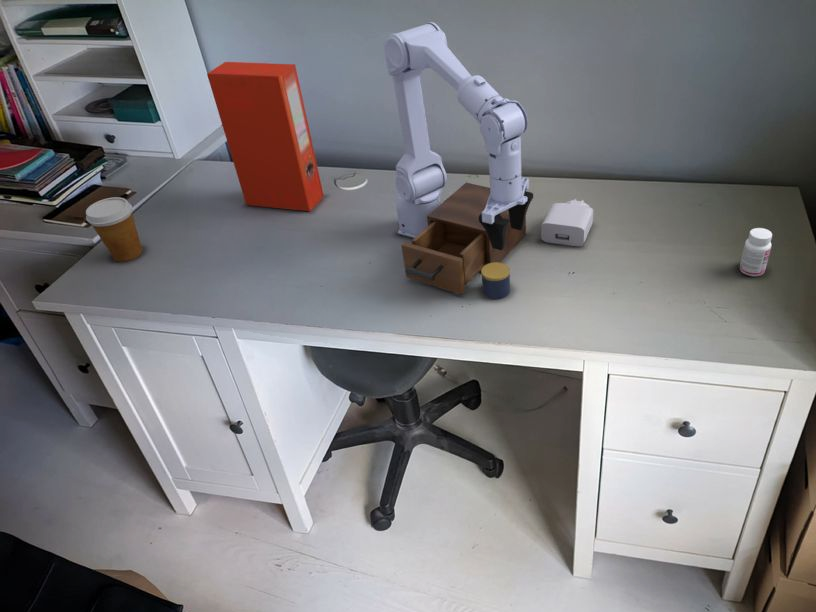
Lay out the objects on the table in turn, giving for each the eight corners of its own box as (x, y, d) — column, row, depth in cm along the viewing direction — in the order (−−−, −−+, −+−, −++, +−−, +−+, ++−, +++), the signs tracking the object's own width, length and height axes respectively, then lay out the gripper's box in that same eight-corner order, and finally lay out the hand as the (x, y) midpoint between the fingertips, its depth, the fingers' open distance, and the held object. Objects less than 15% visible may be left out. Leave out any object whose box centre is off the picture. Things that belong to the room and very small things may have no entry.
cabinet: (490, 272, 144) (488, 231, 138) (431, 255, 150) (426, 215, 144) (526, 235, 154) (525, 195, 147) (468, 220, 160) (466, 182, 154)
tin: (477, 295, 138) (475, 274, 135) (491, 280, 142) (490, 259, 139) (501, 302, 136) (500, 281, 133) (515, 287, 140) (514, 266, 136)
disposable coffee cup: (158, 246, 161) (139, 200, 153) (127, 269, 154) (105, 221, 146) (128, 239, 164) (107, 193, 156) (96, 261, 158) (73, 214, 150)
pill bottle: (765, 278, 136) (774, 241, 131) (739, 275, 137) (747, 238, 132) (764, 264, 140) (774, 227, 134) (739, 262, 141) (747, 225, 135)
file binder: (262, 190, 178) (225, 61, 157) (324, 195, 174) (294, 63, 153) (246, 206, 172) (206, 74, 151) (309, 212, 168) (277, 77, 147)
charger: (598, 212, 159) (583, 247, 149) (558, 207, 162) (541, 241, 151) (599, 193, 156) (584, 228, 145) (559, 188, 159) (541, 222, 148)
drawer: (450, 307, 135) (446, 273, 129) (393, 289, 140) (387, 256, 135) (498, 257, 146) (496, 224, 141) (444, 242, 152) (440, 210, 147)
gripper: (505, 195, 119) (508, 262, 128) (543, 159, 128) (543, 224, 137) (469, 187, 122) (474, 253, 131) (509, 152, 131) (511, 216, 140)
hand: (507, 238), depth 134 cm, fingers open, 7 cm apart
